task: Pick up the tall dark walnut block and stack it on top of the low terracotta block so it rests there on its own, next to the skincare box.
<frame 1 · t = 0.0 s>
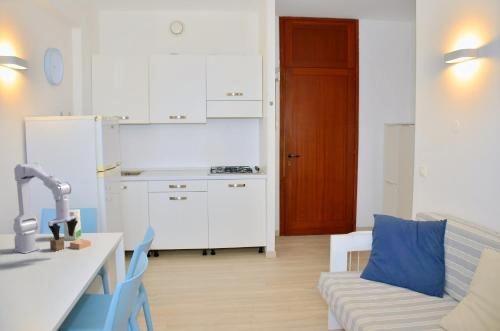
hand: (64, 237, 196), 10 cm above the table, tool pointing down, fingers open, 7 cm apart
skincare box: (72, 238, 232), on the table
walnut block: (57, 249, 211), on the table
terracotta block: (80, 247, 216), on the table
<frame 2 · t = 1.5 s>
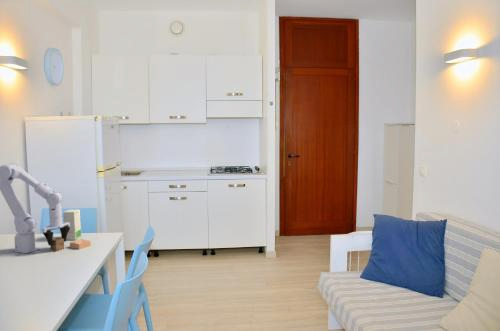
hand: (57, 243, 211), 3 cm above the table, tool pointing down, fingers open, 7 cm apart
nothing on the table moved.
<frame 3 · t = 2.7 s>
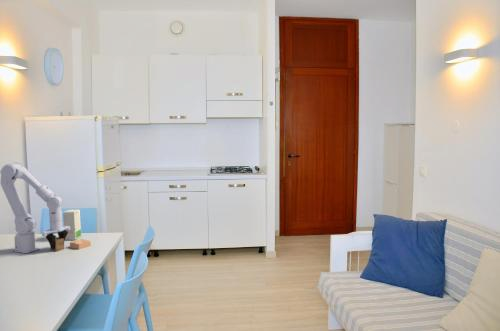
hand: (57, 246, 211), 1 cm above the table, tool pointing down, fingers closed on walnut block, 4 cm apart
walnut block: (57, 249, 211), on the table, touching gripper
everything else where it was.
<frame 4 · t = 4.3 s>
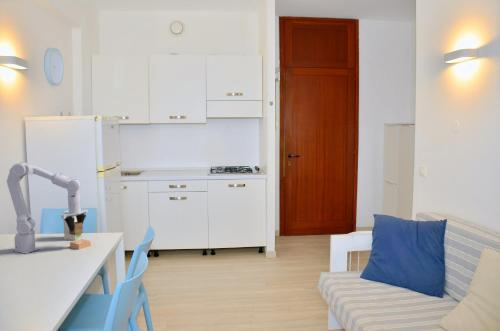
hand: (75, 229, 214), 9 cm above the table, tool pointing down, fingers closed on walnut block, 4 cm apart
walnut block: (76, 233, 215), point 7 cm above the table, touching gripper
everything else where it was.
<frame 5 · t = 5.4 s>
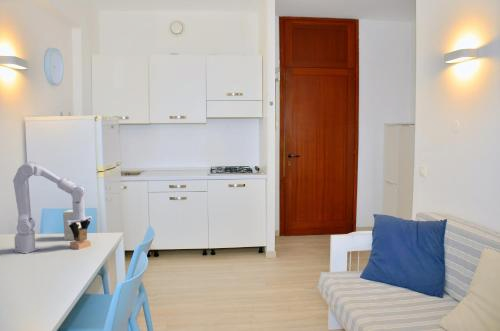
hand: (80, 236, 216), 6 cm above the table, tool pointing down, fingers closed on walnut block, 4 cm apart
walnut block: (80, 239, 216), point 4 cm above the table, touching gripper
everything else where it was.
when the fingers open (6 cm above the table, at t = 5.9 s): walnut block stays where it is, resting on terracotta block.
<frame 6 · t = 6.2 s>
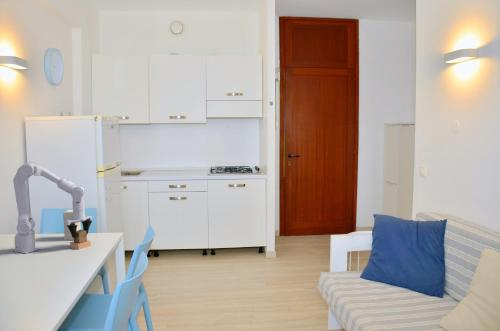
hand: (80, 235, 216), 6 cm above the table, tool pointing down, fingers open, 7 cm apart
walnut block: (80, 241, 216), point 3 cm above the table, touching terracotta block
terracotta block: (80, 247, 216), on the table, touching walnut block
everything else where it was.
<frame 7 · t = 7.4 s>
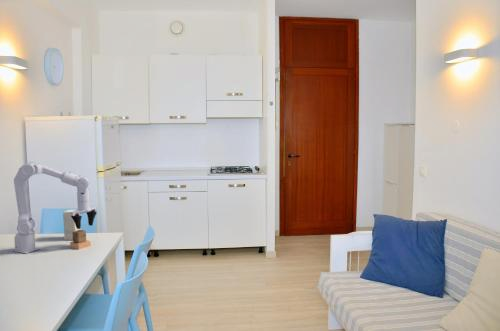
hand: (84, 226, 216), 10 cm above the table, tool pointing down, fingers open, 7 cm apart
nothing on the table moved.
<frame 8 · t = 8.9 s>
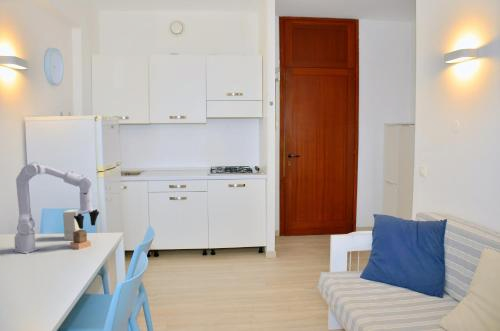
hand: (87, 226, 217), 10 cm above the table, tool pointing down, fingers open, 7 cm apart
walnut block: (80, 241, 216), point 3 cm above the table
terracotta block: (80, 247, 216), on the table
everything else where it was.
at the end: walnut block 0.1 cm off-centre on the terracotta block, point 3.1 cm above the terracotta block's base; walnut block tilted 1°; the gripper is holding nothing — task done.
